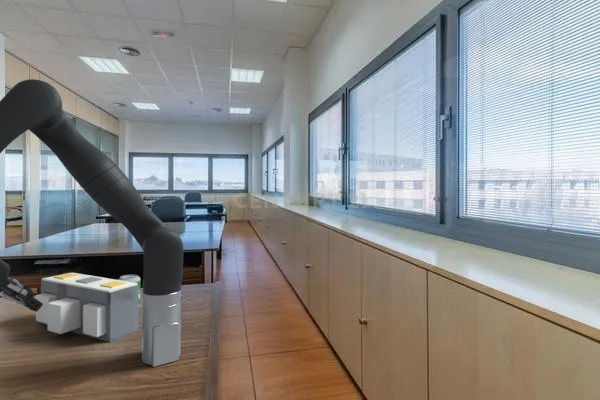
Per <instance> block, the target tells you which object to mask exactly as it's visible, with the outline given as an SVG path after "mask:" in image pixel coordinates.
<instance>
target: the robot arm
mask: <svg viewBox="0 0 600 400" xmlns="http://www.w3.org/2000/svg"><path fill="white" fill-rule="evenodd" d="M28 130H29V131H30V133H32V134H33V135H34V136H35V137H37V138H38V139H39V140H40V141H41V142H42V143H44V144H45V146H46V147H47V148H49V149H50V151H51V152H52V153H53V154H54V155H55V156H56V157H57V159H58V160H59V161H60V162H61V164H62V165H63V167H64V168H65V169H66V170H67V172H68V173H69V175H70V176H71V177H72V178H73V179H74V180H75V181H76V183H77V184H78V185H79V186H80V188H82V190H84V192H86V194H87V195H88V196H89V197H90V198H91V199H92V200H93V201H94V202H95V203H96V204H97V205H98V206H99V207H100V208H101V209H102V210H104V211H105V212H106V213H107V214H108V215H110V216H111V217H113V218H114V219H115V220H116V221H118V223H120V224H121V225H122V226H123V227H125V228H126V230H128V232H129V233H130V234H131V235H132V237H133V238H134V239H135V241H136V242H137V244H138V245H139V246H140V248H141V250H142V251H143V273H142V275H143V277H142V278H143V279H142V307H141V308H142V313H141V315H142V316H141V318H142V319H141V323H142V324H141V326H142V327H141V329H142V330H141V332H142V333H141V362H143V363H144V364H146V365H150V366H152V367H158V366H162V365H165V364H169V363H172V362H177V361H179V359H180V356H181V332H182V331H181V328H182V327H181V326H182V325H181V324H182V323H181V322H182V321H181V320H182V318H181V315H182V313H181V311H182V310H181V309H182V305H181V304H182V280H183V277H184V276H183V274H184V244H183V240H182V238H181V237H180V235H179V234H177V233H176V232H175V231H174V230H172V229H171V228H169V226H168V225H166V223H164V222H163V221H162V220H161V219H160V218H159V217H158V216H157V215H156V214H154V211H152V210H151V209H150V208H149V207H148V205H147V204H146V203H145V200H144V199H143V197H142V196H141V194H140V193H139V191H138V190H137V188H136V187H135V186H134V184H133V183H132V181H131V180H130V179H129V178H128V176H127V175H126V174H125V173H124V172H123V170H121V168H120V167H119V166H118V165H117V163H115V161H114V160H113V159H111V158H110V157H109V156H108V155H107V154H106V153H105V152H104V151H102V150H101V149H99V148H98V147H97V146H95V144H93V143H91V142H90V141H89V140H88V139H86V138H85V137H84V136H83V134H81V133H80V132H79V130H78V129H77V128H76V126H75V125H74V124H73V123H72V121H71V120H70V119H69V117H68V116H67V114H66V113H65V112H64V109H63V101H62V97H61V95H60V93H59V92H58V90H57V89H56V88H55V87H54V86H53V85H51V84H50V83H48V82H47V81H43V80H40V79H32V78H30V79H24V80H21V81H19V82H18V83H16V84H14V86H13V87H11V89H10V90H9V91H8V92H7V93H6V94H5V95H4V96H3V97H2V99H1V100H0V154H1V153H2V152H3V151H4V150H5V149H6V148H7V147H8V146H10V145H11V143H12V142H14V141H15V140H16V139H17V138H19V137H20V136H21V135H23V134H24V133H25V132H27V131H28ZM10 272H11V267H10V265H9V264H8V263H6V262H5V261H3V260H2V259H1V258H0V297H2V298H4V299H5V300H8V301H10V302H15V303H16V304H18V305H22V306H24V307H26V308H27V309H29V310H30V311H32V312H35V313H36V312H37V311H38V310H39V309H40V308H41V307H42V306H43V303H41V302H40V301H38V300H37V299H36V294H35V293H34V292H33V291H32V289H31V288H30V287H29V286H28V285H22V283H20V281H19V280H17V279H16V278H15V277H9V273H10Z"/></svg>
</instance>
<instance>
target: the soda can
mask: <svg viewBox="0 0 600 400" xmlns="http://www.w3.org/2000/svg"><path fill="white" fill-rule="evenodd" d="M117 280H121V281H127V282H133V283H138V285H139V305H138V308H140V306H141V277H140V276H139V275H137V274H124V275H121V276H120V277H119V278H118V279H117Z"/></svg>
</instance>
